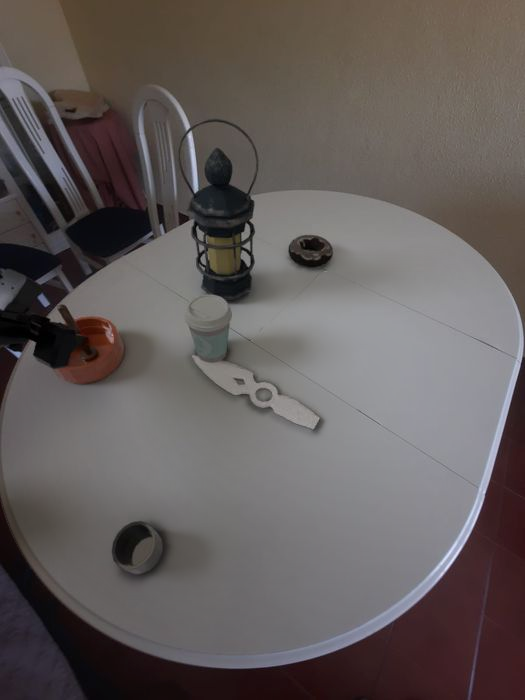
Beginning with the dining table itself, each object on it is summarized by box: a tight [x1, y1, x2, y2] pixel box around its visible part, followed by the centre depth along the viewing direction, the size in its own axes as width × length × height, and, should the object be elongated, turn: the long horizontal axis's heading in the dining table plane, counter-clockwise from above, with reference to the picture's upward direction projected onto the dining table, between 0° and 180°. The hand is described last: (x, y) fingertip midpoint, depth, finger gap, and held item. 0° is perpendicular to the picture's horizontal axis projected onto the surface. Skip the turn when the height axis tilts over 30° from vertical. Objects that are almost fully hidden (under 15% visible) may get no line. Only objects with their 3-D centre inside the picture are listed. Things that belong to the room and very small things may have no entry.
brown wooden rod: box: [57, 303, 99, 362], centre depth 62 cm, size 3×3×13 cm
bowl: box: [52, 315, 125, 385], centre depth 66 cm, size 13×13×5 cm
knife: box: [191, 354, 321, 430], centre depth 64 cm, size 6×28×1 cm, turn 58°
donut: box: [287, 234, 334, 269], centre depth 89 cm, size 12×12×4 cm
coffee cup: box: [184, 294, 233, 363], centre depth 65 cm, size 8×8×12 cm
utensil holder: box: [111, 520, 164, 575], centre depth 45 cm, size 5×5×4 cm
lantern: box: [177, 118, 259, 301], centre depth 68 cm, size 14×13×35 cm
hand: (68, 330), depth 60 cm, fingers open, 9 cm apart
